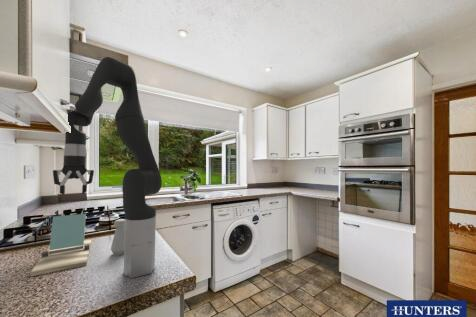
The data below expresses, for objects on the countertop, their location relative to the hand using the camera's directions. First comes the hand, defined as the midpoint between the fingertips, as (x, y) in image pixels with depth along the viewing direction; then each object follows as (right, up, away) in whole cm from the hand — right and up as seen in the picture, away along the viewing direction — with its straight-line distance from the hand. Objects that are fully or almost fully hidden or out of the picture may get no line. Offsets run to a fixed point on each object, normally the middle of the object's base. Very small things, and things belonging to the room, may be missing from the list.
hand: (73, 194), depth 88 cm
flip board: (+6, -22, -10) cm, 25 cm away
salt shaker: (+24, -22, -8) cm, 34 cm away
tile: (+4, -14, -8) cm, 17 cm away
